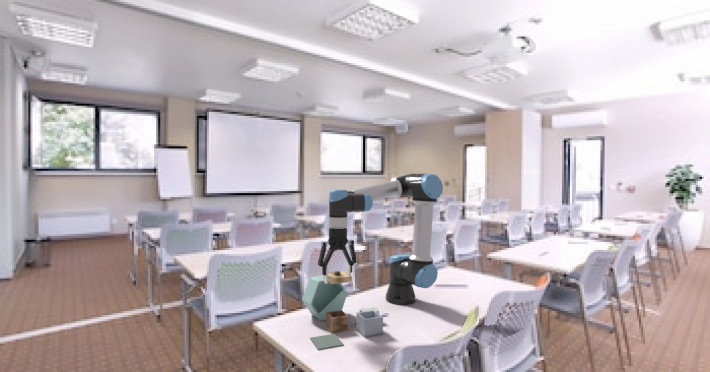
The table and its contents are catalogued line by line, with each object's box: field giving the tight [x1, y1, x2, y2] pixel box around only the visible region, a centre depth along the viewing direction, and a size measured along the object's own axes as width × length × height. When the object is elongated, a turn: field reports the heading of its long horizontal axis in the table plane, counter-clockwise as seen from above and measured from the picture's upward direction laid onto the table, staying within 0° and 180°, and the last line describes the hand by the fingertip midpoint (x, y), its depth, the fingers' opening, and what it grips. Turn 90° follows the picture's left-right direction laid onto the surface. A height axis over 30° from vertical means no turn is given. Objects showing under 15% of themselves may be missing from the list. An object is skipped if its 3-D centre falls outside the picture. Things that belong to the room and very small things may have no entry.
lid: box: [322, 270, 353, 284], centre depth 150 cm, size 9×9×3 cm
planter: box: [301, 274, 348, 321], centre depth 164 cm, size 17×8×21 cm
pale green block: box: [359, 306, 380, 314], centre depth 159 cm, size 7×5×5 cm
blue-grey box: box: [355, 310, 384, 338], centre depth 148 cm, size 8×8×7 cm
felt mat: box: [309, 333, 344, 351], centre depth 138 cm, size 10×10×1 cm
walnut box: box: [325, 309, 349, 334], centre depth 151 cm, size 7×7×6 cm
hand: (337, 281), depth 150 cm, fingers closed on lid, 9 cm apart
